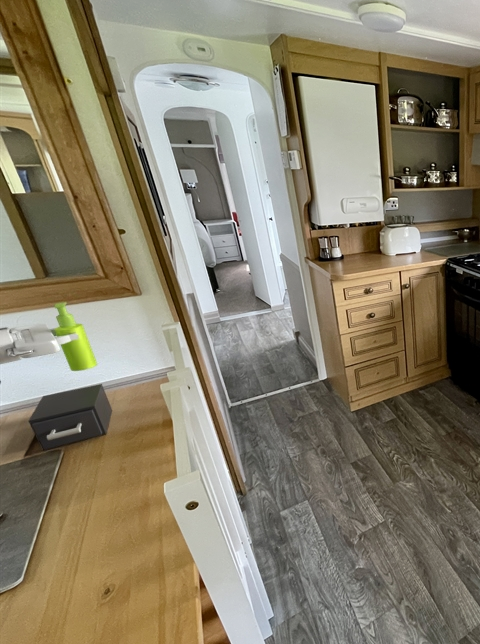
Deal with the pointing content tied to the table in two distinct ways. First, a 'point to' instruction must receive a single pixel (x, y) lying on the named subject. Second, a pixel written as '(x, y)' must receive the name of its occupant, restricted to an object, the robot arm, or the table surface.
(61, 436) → the drawer
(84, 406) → the cabinet
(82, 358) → the soap dispenser
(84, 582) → the table surface
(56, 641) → the table surface
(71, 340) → the robot arm
